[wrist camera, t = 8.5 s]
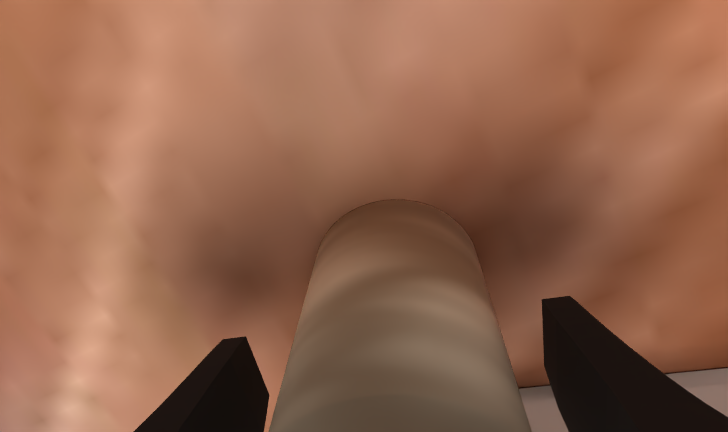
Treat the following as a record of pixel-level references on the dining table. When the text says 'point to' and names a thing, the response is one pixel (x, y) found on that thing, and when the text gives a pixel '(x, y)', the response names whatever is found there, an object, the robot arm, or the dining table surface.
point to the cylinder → (398, 332)
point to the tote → (711, 386)
